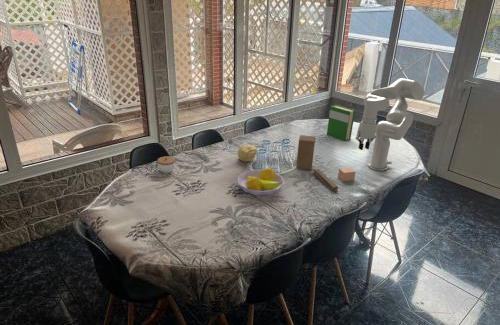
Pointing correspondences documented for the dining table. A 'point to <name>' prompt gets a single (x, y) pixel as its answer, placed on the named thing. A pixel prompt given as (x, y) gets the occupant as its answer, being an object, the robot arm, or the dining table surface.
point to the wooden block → (305, 152)
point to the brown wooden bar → (326, 180)
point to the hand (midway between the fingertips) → (363, 148)
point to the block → (346, 174)
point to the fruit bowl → (260, 182)
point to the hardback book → (340, 122)
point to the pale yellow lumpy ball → (247, 153)
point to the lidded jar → (166, 164)
